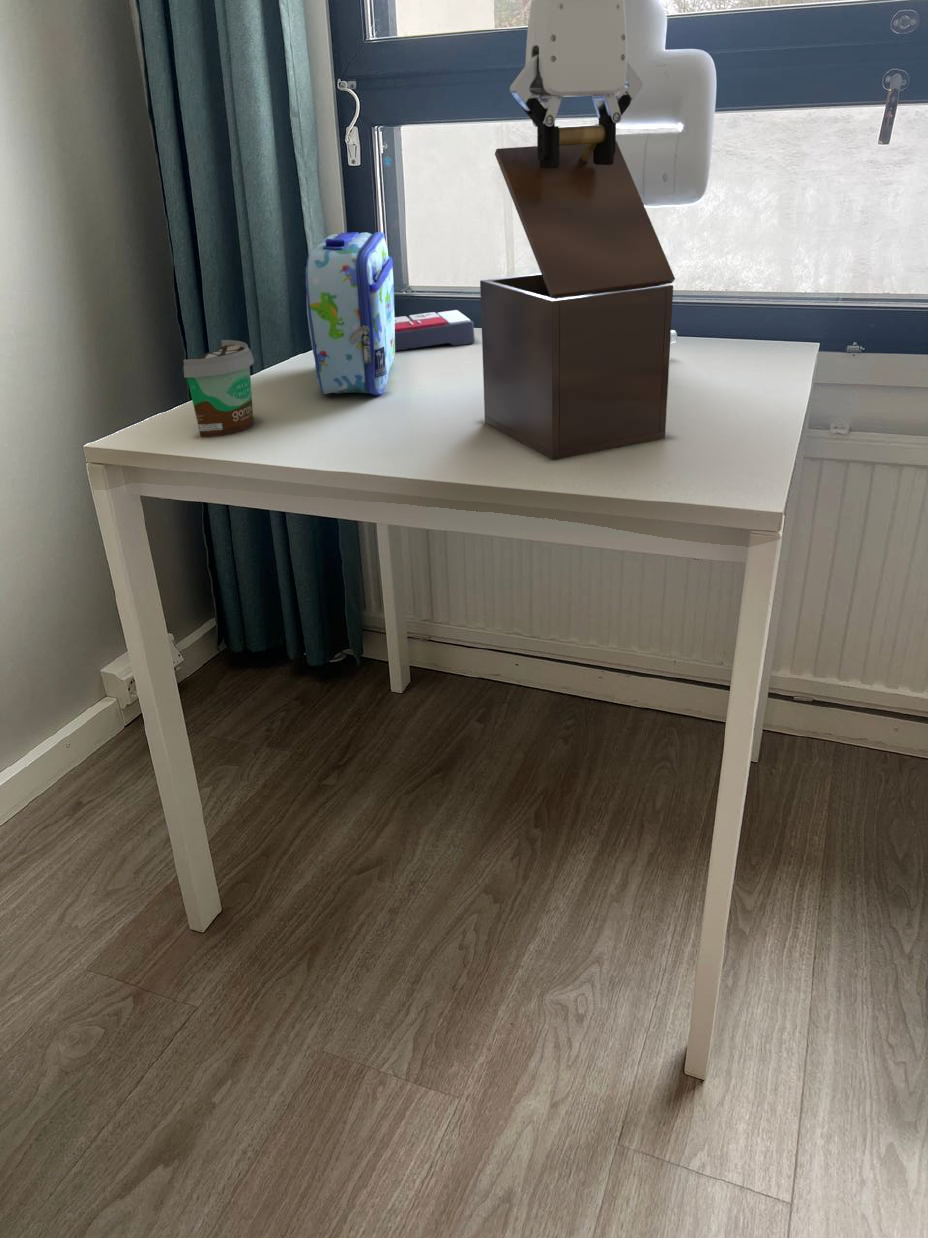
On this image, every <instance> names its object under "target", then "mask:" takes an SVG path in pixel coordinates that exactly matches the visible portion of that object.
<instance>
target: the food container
mask: <svg viewBox="0 0 928 1238" xmlns="http://www.w3.org/2000/svg"><path fill="white" fill-rule="evenodd" d="M254 364H255V359H254V356H253V353H252V350H251V349H250V348H249V346H248V344H247V343H246V342H244V341H240V340H233V339H221V347H220V348H219V349H217V350H214V351H210V352H206V353H204V354H202V356H200V357H199V358H193V359H183V365H182V366H183V377H184V378H186V379H187V383H188V388H189V391H190V392H189V393H190V396H191V400H192V405H193V409H194V414H195V417H196V422H197V427H198V432H199V436H200V437H202V438H207V437H208V438H209V437H221V436H227V435H232V434H236V433H240V432H243V431H245V430H248V429H250V428H251V427H253V426H254V423H255V421H254V409H253V394H252V393H253V392H252V381H251V380H252V379H251V368H250V367H251V366H252V365H254Z"/></svg>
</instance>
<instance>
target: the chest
mask: <svg viewBox="0 0 928 1238" xmlns="http://www.w3.org/2000/svg"><path fill="white" fill-rule="evenodd" d="M479 287H480V291H479V292H480V293H479V294H480V314H481V315H480V316H481V317H480V319H481V322H480V323H481V348H482V375H483V381H482V382H483V405H484V406H483V407H484V423H486V424H487V425H489V426H491V427H492V428H494V429H496V430H498V431H500V432H502V433H503V434H505V435H507V436H509V437H511V438H512V439H514V440H516V441H517V442H519V443H521V444H523V445H525V446H527V447H529V448H530V449H532V450H534V451H536V452H538V453H539V454H541V455H543V456H545V457H547V458H548V459H550V460H552V461H554V460H559V459H560V460H561V459H564V458H570V457H575V456H579V455H585V454H591V453H596V452H600V451H605V450H611V449H615V448H621V447H626V446H632V445H637V444H642V443H647V442H652V441H656V440H657V441H658V440H663V439H666V428H667V412H668V411H667V410H668V409H667V408H668V391H669V372H670V355H671V344H670V338H671V331H672V319H673V318H672V317H673V300H674V284H673V285H672V284H662V285H654V286H646V287H638V288H630V289H623V290H615V291H607V292H599V293H592V295H584V296H576V297H569V298H561V299H553V298H552V299H551V297H550V294H549V292H548V289H547V287H546V284H545V281H544V279H543V276H542V274H541V272H539V273H533V274H531V273H530V274H524V275H513V276H507V277H498V278H489V279H481V280H479Z"/></svg>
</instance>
